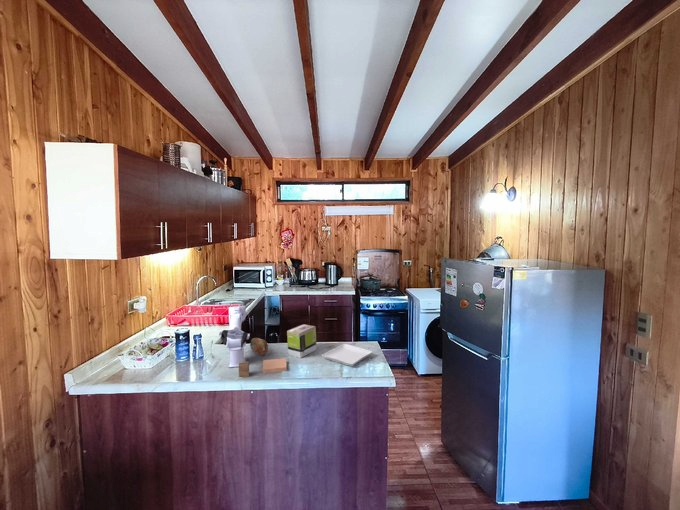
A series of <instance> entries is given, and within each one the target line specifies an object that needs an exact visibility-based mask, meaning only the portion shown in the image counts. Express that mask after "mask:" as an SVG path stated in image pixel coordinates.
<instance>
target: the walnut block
mask: <svg viewBox="0 0 680 510" xmlns="http://www.w3.org/2000/svg"><path fill="white" fill-rule="evenodd" d="M249 376H250V362H249V361H245V362H240V363H239V366H238V378H239V377H242V378H249Z"/></svg>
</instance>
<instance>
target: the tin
mask: <svg viewBox="0 0 680 510" xmlns="http://www.w3.org/2000/svg"><path fill="white" fill-rule="evenodd" d="M249 345H250V348H251V351H252V352H253V353H255V354H257V355H260V356H263V355H266V354H267V353H268V351H269V344H268V342H267V341H266V340H265V339H262V338H260V337H254V338H253V337H252V338H251V340H250V344H249Z"/></svg>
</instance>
